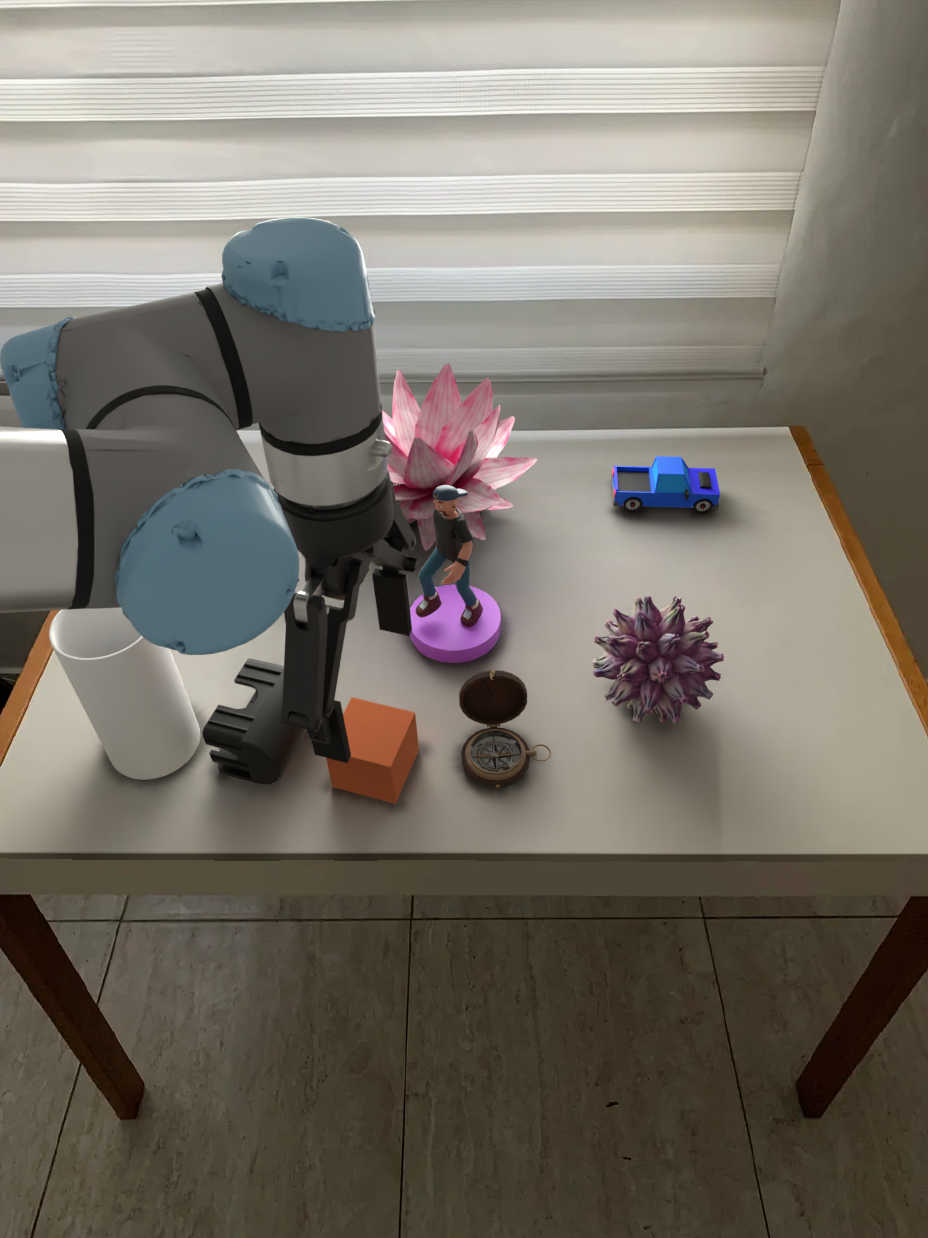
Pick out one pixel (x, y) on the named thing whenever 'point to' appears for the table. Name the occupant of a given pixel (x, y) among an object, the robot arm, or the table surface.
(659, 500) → the toy car
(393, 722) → the orange cube
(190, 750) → the cup
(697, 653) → the flower
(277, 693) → the end cap
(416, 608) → the figurine
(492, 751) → the compass
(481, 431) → the decorative flower
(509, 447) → the table surface
